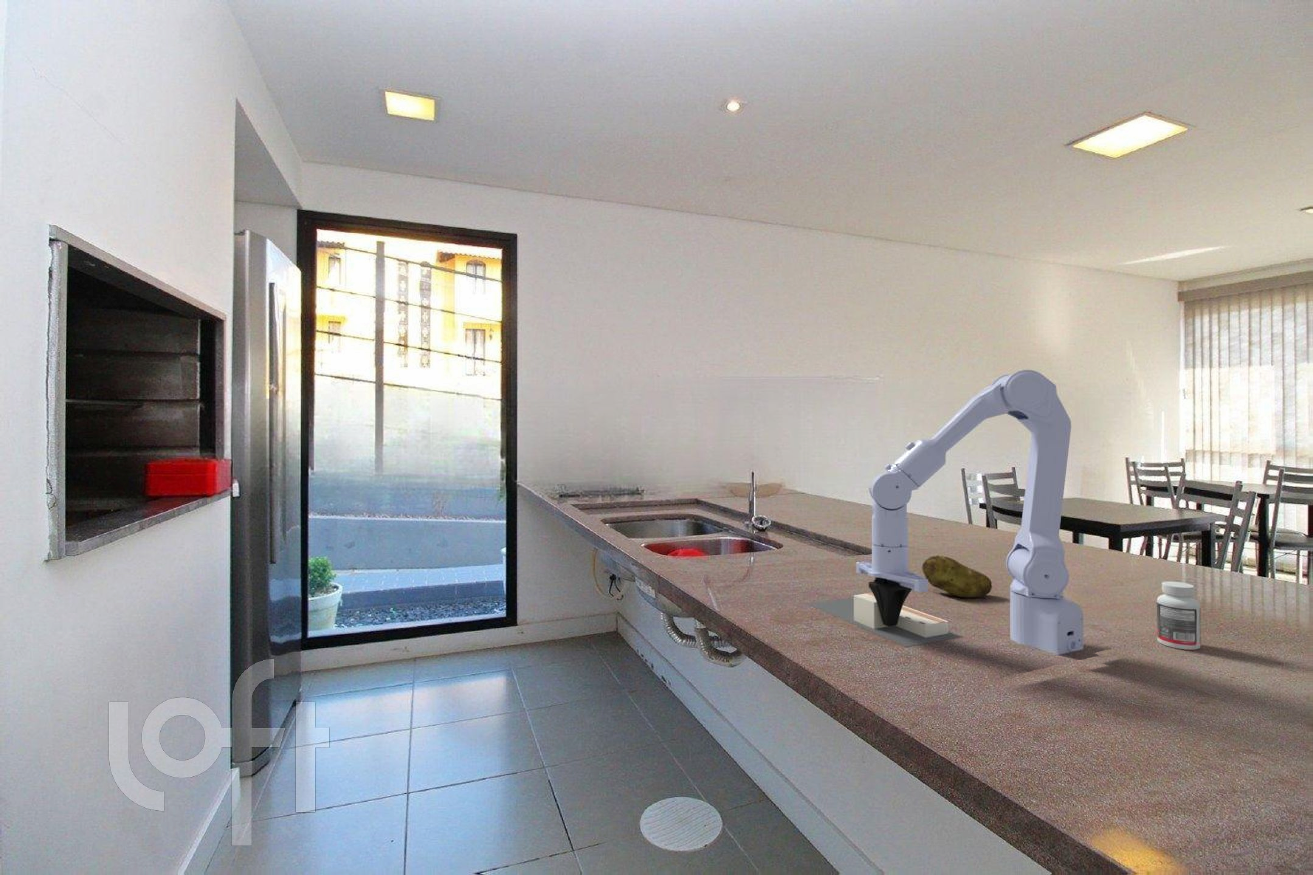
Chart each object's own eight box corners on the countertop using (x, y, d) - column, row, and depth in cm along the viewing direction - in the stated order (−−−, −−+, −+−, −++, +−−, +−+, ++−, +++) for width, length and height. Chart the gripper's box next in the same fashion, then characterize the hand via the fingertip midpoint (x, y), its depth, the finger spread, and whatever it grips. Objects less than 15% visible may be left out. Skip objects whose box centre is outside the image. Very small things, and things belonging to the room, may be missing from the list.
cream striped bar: (948, 633, 101) (948, 620, 101) (925, 637, 99) (925, 624, 99) (886, 610, 114) (886, 599, 114) (865, 613, 112) (865, 602, 112)
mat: (962, 643, 99) (962, 636, 99) (906, 654, 95) (906, 646, 95) (855, 602, 124) (855, 596, 124) (805, 609, 119) (805, 603, 119)
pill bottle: (1165, 636, 102) (1165, 578, 102) (1206, 646, 97) (1206, 585, 97) (1150, 642, 99) (1150, 582, 99) (1191, 653, 94) (1191, 590, 94)
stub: (892, 625, 105) (892, 599, 105) (874, 628, 104) (873, 601, 104) (871, 617, 110) (871, 592, 110) (853, 620, 108) (853, 594, 108)
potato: (987, 604, 121) (987, 564, 121) (919, 595, 129) (918, 557, 129) (993, 595, 128) (993, 557, 128) (927, 586, 136) (927, 550, 136)
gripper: (842, 539, 108) (842, 615, 108) (903, 554, 94) (904, 641, 95) (873, 536, 111) (874, 610, 111) (938, 550, 97) (938, 635, 97)
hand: (890, 624), depth 103 cm, fingers closed
